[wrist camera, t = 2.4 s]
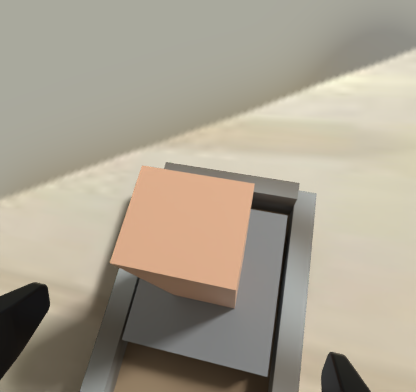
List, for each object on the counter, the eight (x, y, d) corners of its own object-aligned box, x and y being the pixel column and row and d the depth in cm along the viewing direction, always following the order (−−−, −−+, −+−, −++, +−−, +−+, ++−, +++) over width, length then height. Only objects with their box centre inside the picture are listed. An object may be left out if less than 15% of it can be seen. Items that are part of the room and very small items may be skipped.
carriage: (263, 370, 16) (314, 449, 6) (134, 338, 17) (-9, 357, 7) (282, 226, 19) (337, 114, 9) (170, 206, 20) (107, 86, 10)
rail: (260, 660, 13) (269, 781, 10) (44, 574, 15) (-15, 652, 11) (306, 209, 21) (321, 186, 17) (161, 185, 22) (147, 159, 19)
